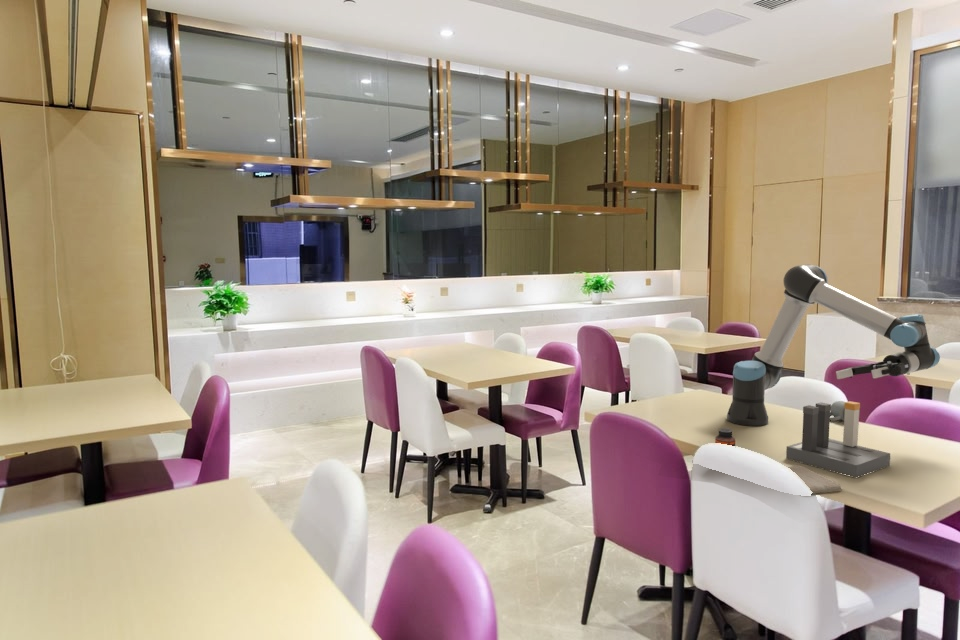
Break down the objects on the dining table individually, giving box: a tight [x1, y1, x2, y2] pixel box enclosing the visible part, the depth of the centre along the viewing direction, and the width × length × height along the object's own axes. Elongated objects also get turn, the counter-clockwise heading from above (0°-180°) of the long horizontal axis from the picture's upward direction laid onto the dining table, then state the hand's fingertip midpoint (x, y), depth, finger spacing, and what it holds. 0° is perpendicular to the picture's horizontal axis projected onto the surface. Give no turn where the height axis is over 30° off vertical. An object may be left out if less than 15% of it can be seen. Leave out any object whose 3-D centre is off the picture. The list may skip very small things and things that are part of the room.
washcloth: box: [787, 465, 842, 495], centre depth 185 cm, size 12×18×3 cm, turn 13°
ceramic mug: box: [830, 400, 846, 422], centre depth 251 cm, size 11×8×8 cm
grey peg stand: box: [785, 401, 891, 478], centre depth 201 cm, size 22×20×18 cm
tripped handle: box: [842, 400, 861, 447], centre depth 205 cm, size 3×3×14 cm
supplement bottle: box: [714, 428, 736, 447], centre depth 200 cm, size 6×6×11 cm
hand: (854, 374), depth 211 cm, fingers open, 13 cm apart
